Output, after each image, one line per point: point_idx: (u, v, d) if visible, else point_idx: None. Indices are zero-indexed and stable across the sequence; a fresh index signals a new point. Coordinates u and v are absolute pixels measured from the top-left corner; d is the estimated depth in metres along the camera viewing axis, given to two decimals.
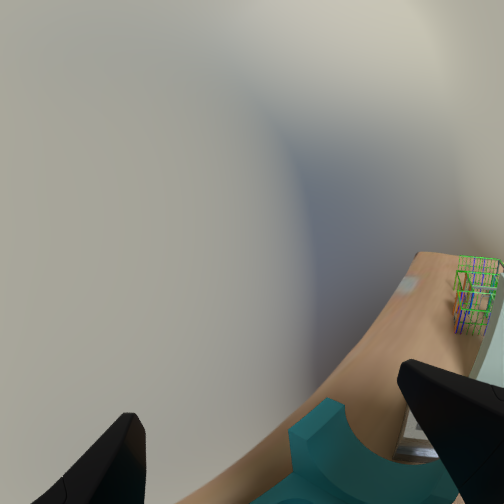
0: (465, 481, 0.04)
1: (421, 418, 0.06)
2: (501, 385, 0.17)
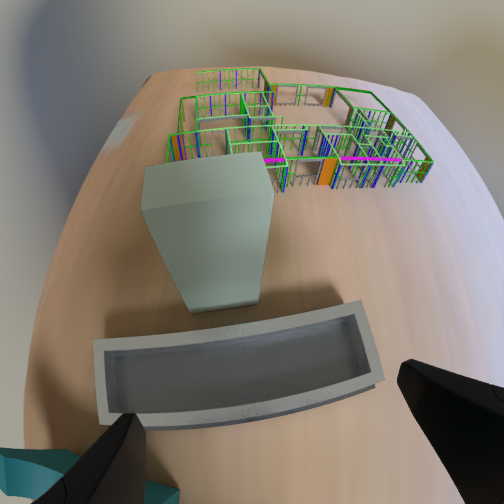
0: (465, 481, 0.04)
1: (421, 418, 0.06)
2: (237, 299, 0.22)
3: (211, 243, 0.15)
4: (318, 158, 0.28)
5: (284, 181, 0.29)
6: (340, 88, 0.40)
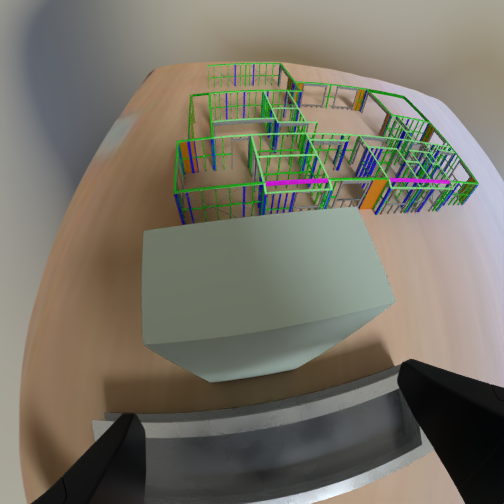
0: (465, 481, 0.04)
1: (421, 418, 0.06)
2: (273, 371, 0.16)
3: (263, 354, 0.09)
4: (366, 179, 0.22)
5: (324, 207, 0.23)
6: (373, 91, 0.34)
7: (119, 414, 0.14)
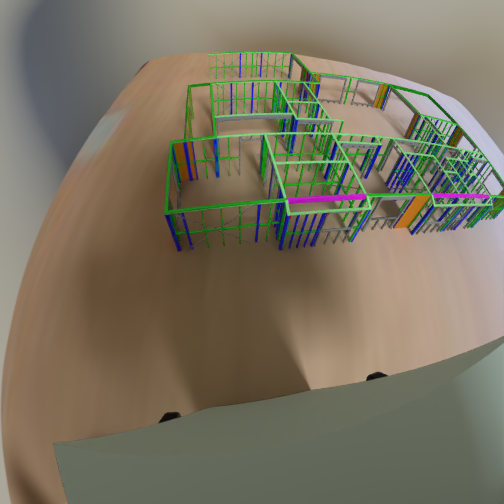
0: None
1: None
2: None
3: None
4: (408, 195, 0.17)
5: (358, 229, 0.18)
6: (396, 87, 0.28)
7: None
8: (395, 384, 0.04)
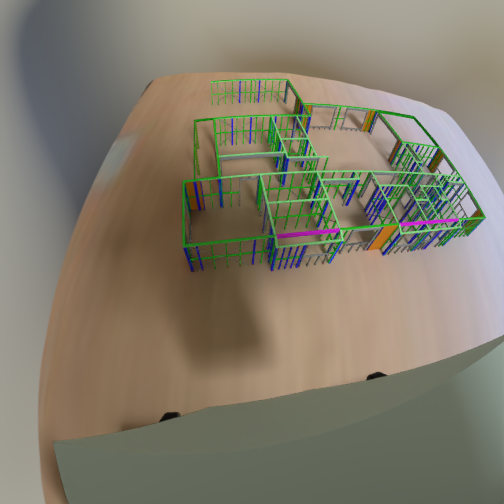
0: None
1: None
2: None
3: None
4: (377, 227, 0.22)
5: (334, 254, 0.24)
6: (383, 112, 0.33)
7: None
8: (395, 383, 0.04)
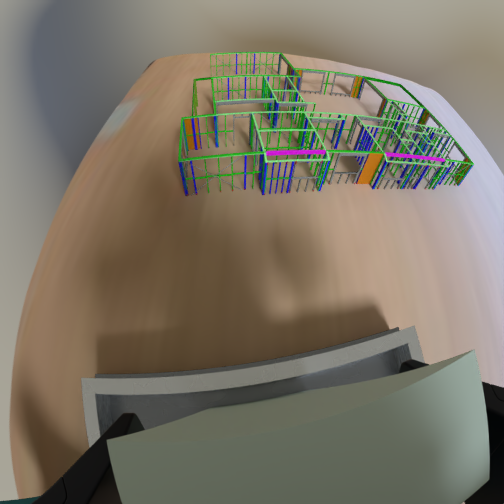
0: None
1: None
2: None
3: None
4: (362, 153, 0.23)
5: (322, 178, 0.24)
6: (370, 79, 0.34)
7: (110, 375, 0.15)
8: (366, 389, 0.05)
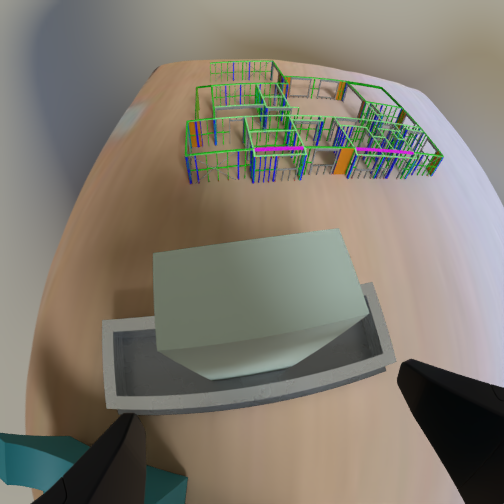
0: (465, 481, 0.04)
1: (421, 418, 0.06)
2: (269, 369, 0.18)
3: (258, 355, 0.10)
4: (335, 148, 0.28)
5: (302, 169, 0.29)
6: (352, 83, 0.39)
7: None
8: None
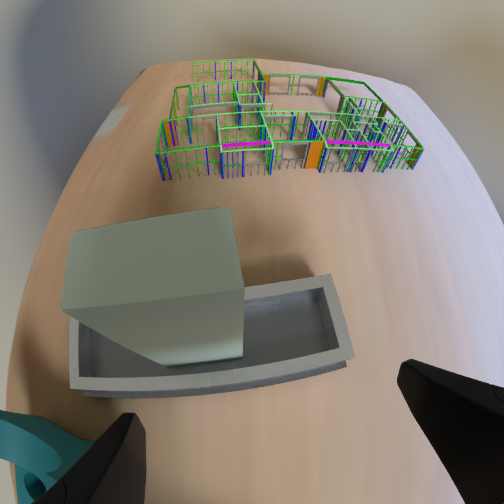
0: (466, 481, 0.04)
1: (421, 418, 0.06)
2: (217, 357, 0.18)
3: (167, 331, 0.10)
4: (304, 141, 0.28)
5: (270, 163, 0.30)
6: (333, 79, 0.40)
7: None
8: None
